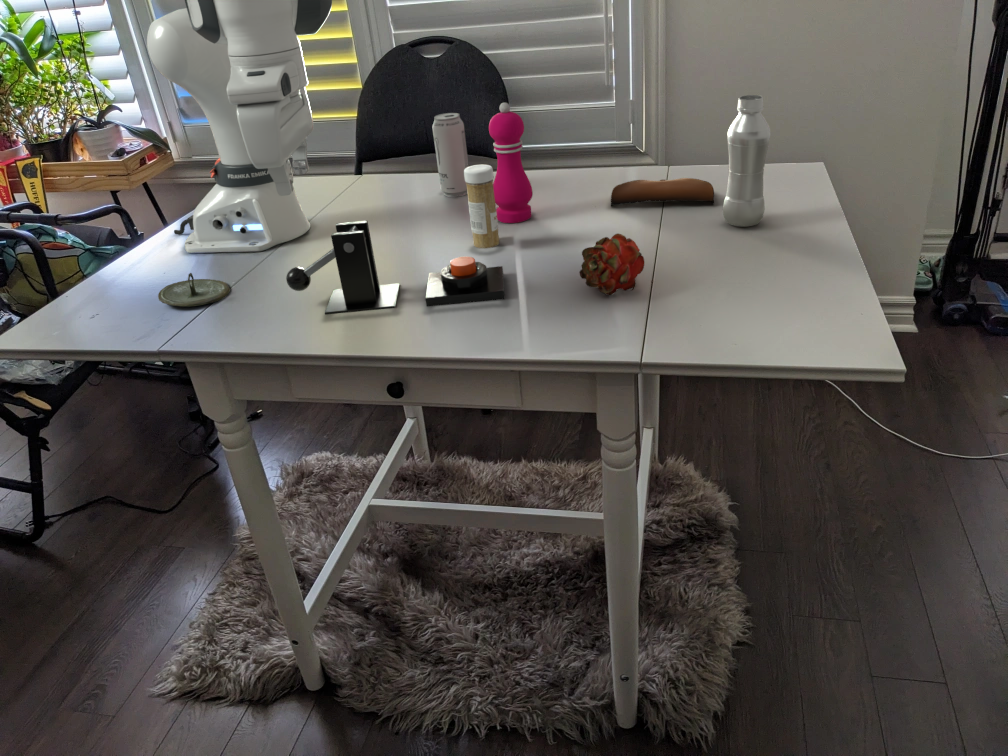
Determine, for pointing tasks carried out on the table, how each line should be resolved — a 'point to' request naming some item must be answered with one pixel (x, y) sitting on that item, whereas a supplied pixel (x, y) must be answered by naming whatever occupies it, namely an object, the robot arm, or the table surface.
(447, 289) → the button block
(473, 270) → the button
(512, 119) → the pepper mill
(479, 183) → the spice jar
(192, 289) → the metal shank button
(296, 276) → the lever
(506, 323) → the table surface
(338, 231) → the switch bracket
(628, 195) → the sunglasses case
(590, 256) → the dragon fruit
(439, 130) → the energy drink can
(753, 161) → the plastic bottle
